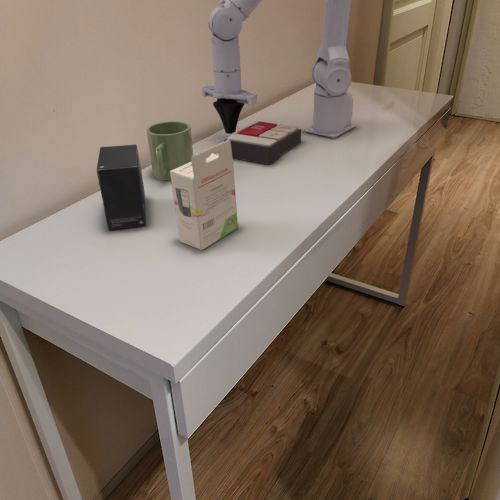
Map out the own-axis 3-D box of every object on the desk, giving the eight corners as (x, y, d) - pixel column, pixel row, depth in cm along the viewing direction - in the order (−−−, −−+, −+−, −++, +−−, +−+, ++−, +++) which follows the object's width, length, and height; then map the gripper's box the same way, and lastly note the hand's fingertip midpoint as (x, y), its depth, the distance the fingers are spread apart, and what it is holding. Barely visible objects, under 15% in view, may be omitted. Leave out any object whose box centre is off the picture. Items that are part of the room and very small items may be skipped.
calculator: (302, 125, 110) (270, 143, 98) (301, 144, 112) (269, 164, 101) (258, 119, 115) (223, 136, 103) (258, 137, 117) (223, 156, 105)
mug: (160, 163, 104) (154, 120, 99) (199, 164, 102) (195, 121, 98) (141, 186, 94) (134, 140, 90) (183, 188, 93) (178, 141, 88)
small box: (148, 226, 81) (138, 165, 75) (107, 231, 80) (94, 170, 74) (146, 198, 90) (137, 142, 84) (109, 203, 89) (98, 146, 83)
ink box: (215, 219, 82) (208, 131, 74) (239, 228, 79) (233, 138, 72) (177, 241, 77) (165, 149, 69) (200, 252, 74) (190, 156, 66)
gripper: (189, 69, 107) (195, 131, 114) (240, 77, 99) (243, 143, 106) (212, 63, 112) (216, 123, 119) (262, 70, 104) (264, 134, 111)
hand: (230, 132), depth 113 cm, fingers closed
